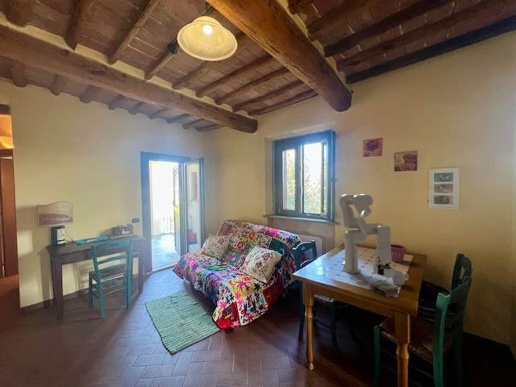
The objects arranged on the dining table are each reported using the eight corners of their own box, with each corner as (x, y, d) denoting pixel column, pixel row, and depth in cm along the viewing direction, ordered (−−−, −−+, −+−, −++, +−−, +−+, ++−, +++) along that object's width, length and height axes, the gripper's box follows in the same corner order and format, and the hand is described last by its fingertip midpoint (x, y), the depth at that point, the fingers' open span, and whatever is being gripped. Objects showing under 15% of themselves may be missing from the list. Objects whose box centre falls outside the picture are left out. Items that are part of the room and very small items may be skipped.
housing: (373, 272, 144) (373, 265, 144) (379, 271, 147) (379, 263, 147) (388, 278, 135) (388, 270, 135) (394, 276, 138) (394, 268, 138)
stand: (369, 289, 145) (369, 282, 144) (379, 285, 149) (379, 279, 149) (388, 297, 134) (388, 290, 134) (398, 293, 139) (398, 286, 139)
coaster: (353, 282, 156) (354, 281, 156) (360, 279, 159) (360, 279, 159) (362, 285, 150) (362, 285, 150) (369, 283, 153) (369, 283, 153)
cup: (404, 280, 156) (404, 269, 156) (412, 286, 148) (412, 274, 148) (389, 281, 156) (389, 270, 156) (396, 286, 148) (396, 274, 148)
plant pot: (410, 261, 193) (410, 247, 193) (398, 264, 188) (398, 249, 188) (394, 257, 207) (394, 243, 206) (383, 259, 202) (383, 245, 201)
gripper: (386, 242, 148) (386, 269, 149) (369, 245, 140) (369, 274, 140) (397, 244, 141) (398, 272, 142) (380, 248, 133) (381, 278, 134)
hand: (383, 273), depth 141 cm, fingers closed on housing, 6 cm apart
